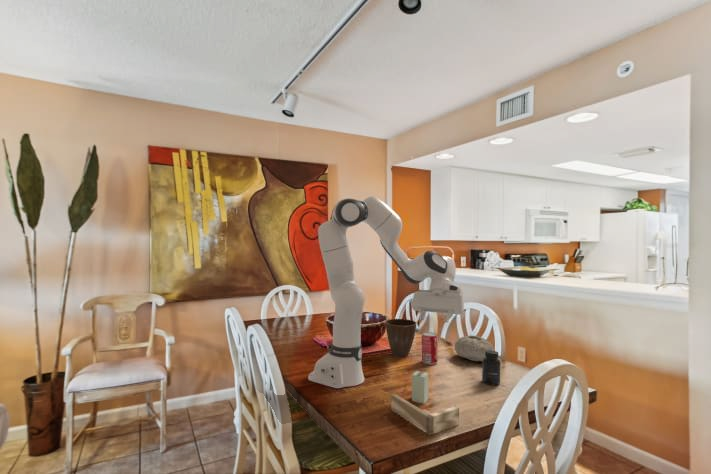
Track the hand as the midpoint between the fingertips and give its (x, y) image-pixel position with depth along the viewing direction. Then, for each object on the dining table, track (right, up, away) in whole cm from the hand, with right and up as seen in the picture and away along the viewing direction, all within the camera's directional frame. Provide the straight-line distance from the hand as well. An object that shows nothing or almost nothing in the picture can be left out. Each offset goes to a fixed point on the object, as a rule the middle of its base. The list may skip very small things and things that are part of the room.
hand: (433, 320), depth 140 cm
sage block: (-7, -25, -11) cm, 28 cm away
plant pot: (-8, -26, +38) cm, 47 cm away
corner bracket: (-8, -25, -23) cm, 35 cm away
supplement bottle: (+24, -26, +5) cm, 36 cm away
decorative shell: (+26, -26, +34) cm, 50 cm away
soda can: (+4, -26, +28) cm, 38 cm away
